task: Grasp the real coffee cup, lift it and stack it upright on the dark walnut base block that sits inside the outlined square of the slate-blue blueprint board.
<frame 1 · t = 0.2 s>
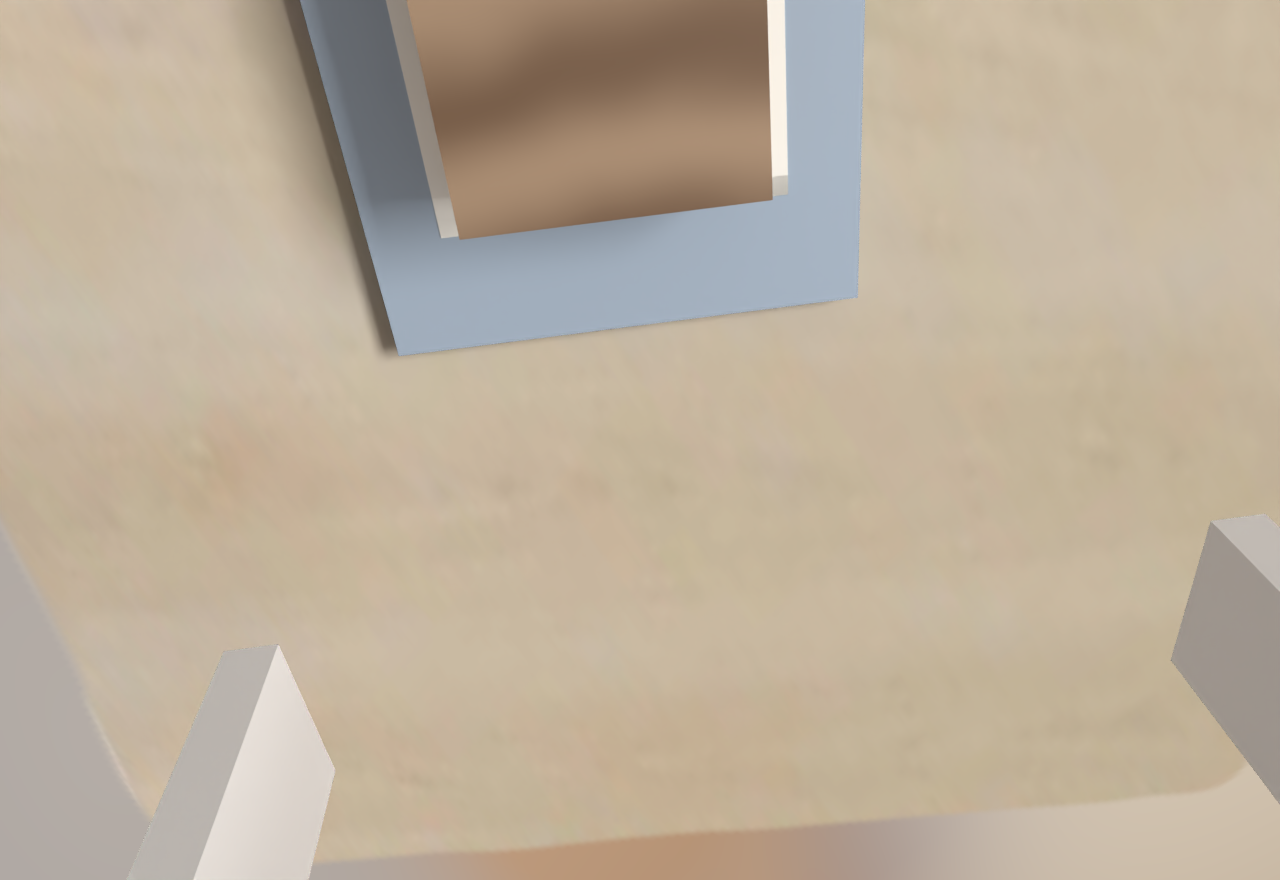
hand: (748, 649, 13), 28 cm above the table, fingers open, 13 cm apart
blueprint board: (590, 23, 34), on the table
walnut base block: (591, 27, 33), point 1 cm above the table, touching blueprint board
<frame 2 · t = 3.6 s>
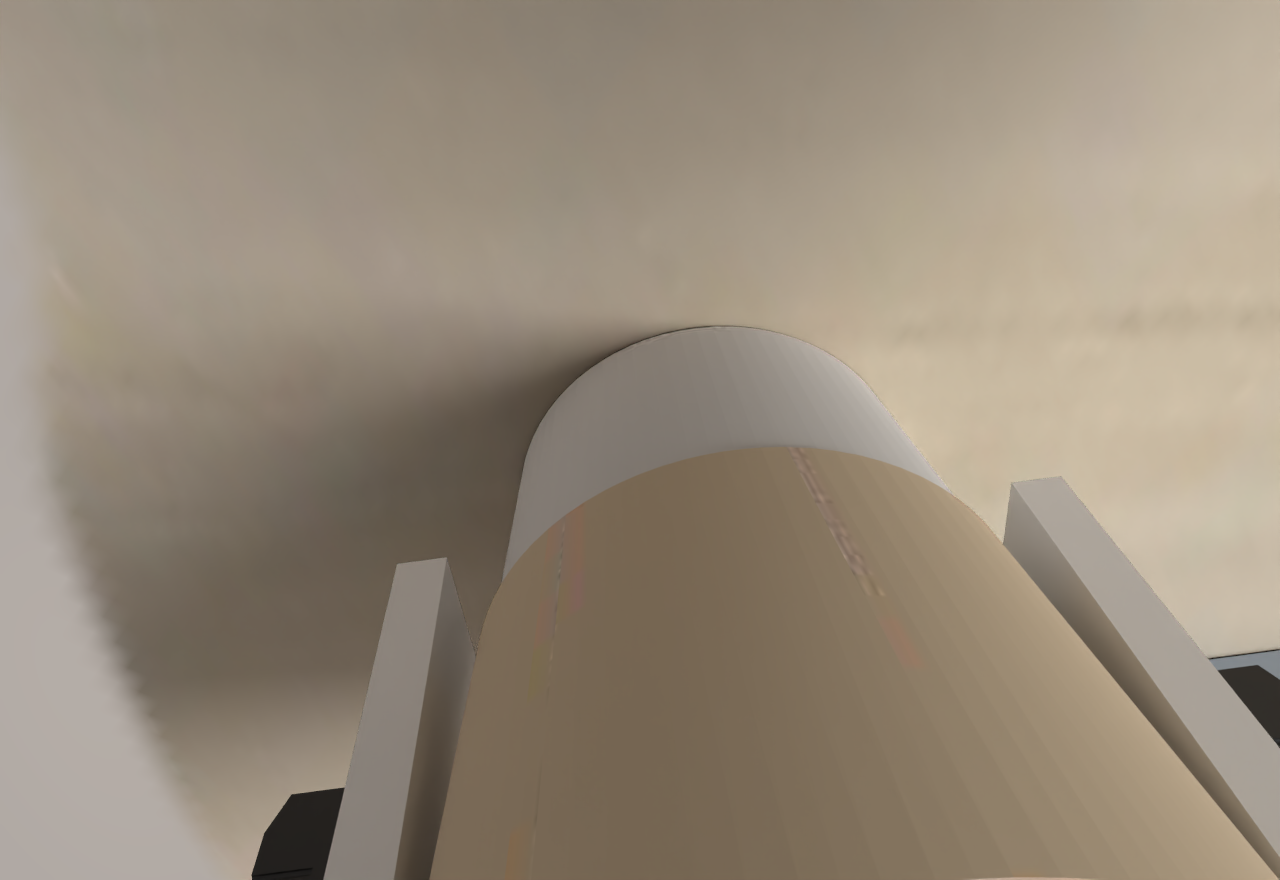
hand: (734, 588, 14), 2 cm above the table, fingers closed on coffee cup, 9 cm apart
coffee cup: (710, 491, 17), on the table, touching gripper
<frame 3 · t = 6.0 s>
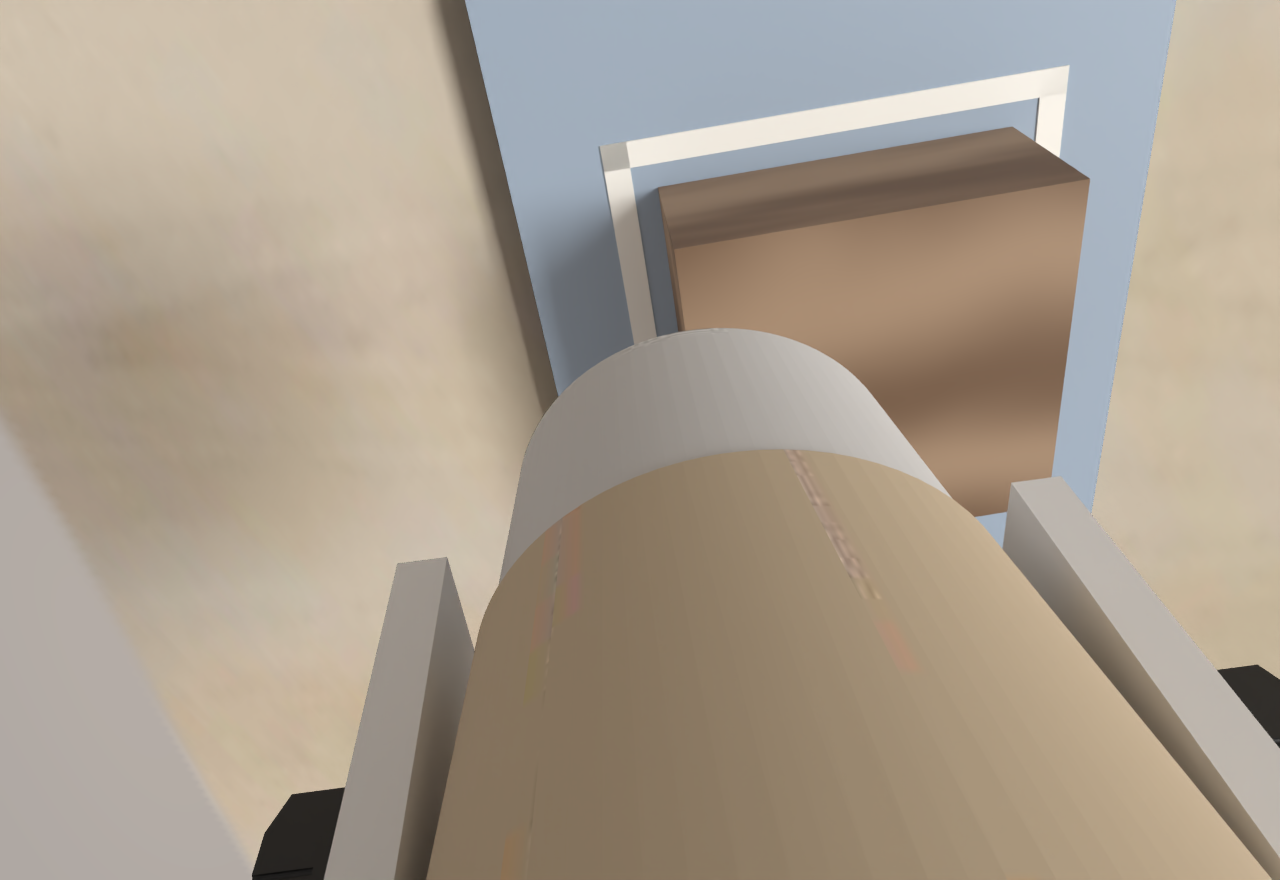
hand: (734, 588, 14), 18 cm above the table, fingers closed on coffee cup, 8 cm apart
blueprint board: (831, 303, 32), on the table
walnut base block: (839, 316, 31), point 1 cm above the table, touching blueprint board
coffee cup: (708, 493, 17), point 16 cm above the table, touching gripper
when the fingers open (10 cm above the table, at t = 8.3 s): coffee cup drops 1 cm, resting on walnut base block.
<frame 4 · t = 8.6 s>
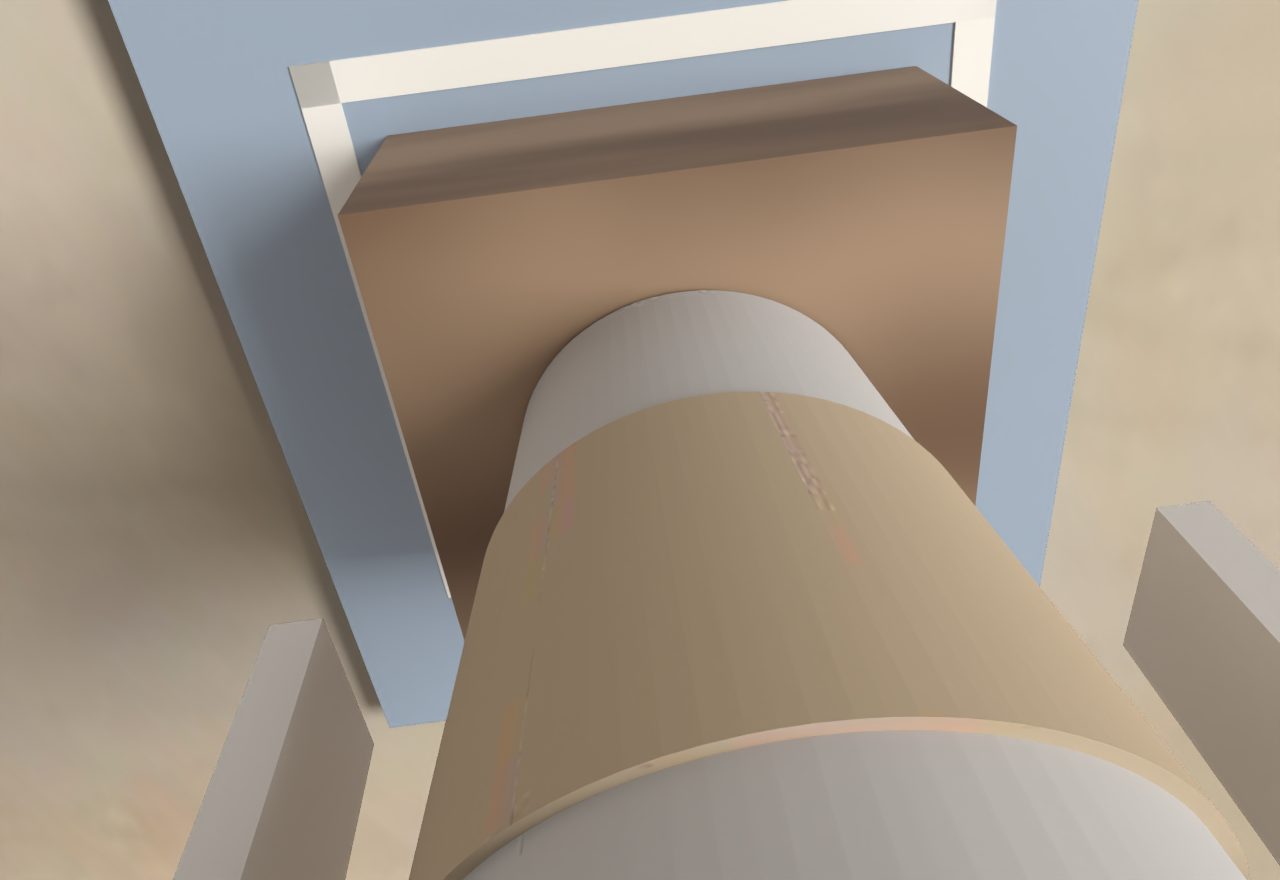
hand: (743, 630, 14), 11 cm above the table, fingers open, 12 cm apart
blueprint board: (671, 321, 23), on the table
walnut base block: (675, 338, 22), point 1 cm above the table, touching blueprint board, coffee cup
coffee cup: (698, 447, 18), point 6 cm above the table, touching walnut base block
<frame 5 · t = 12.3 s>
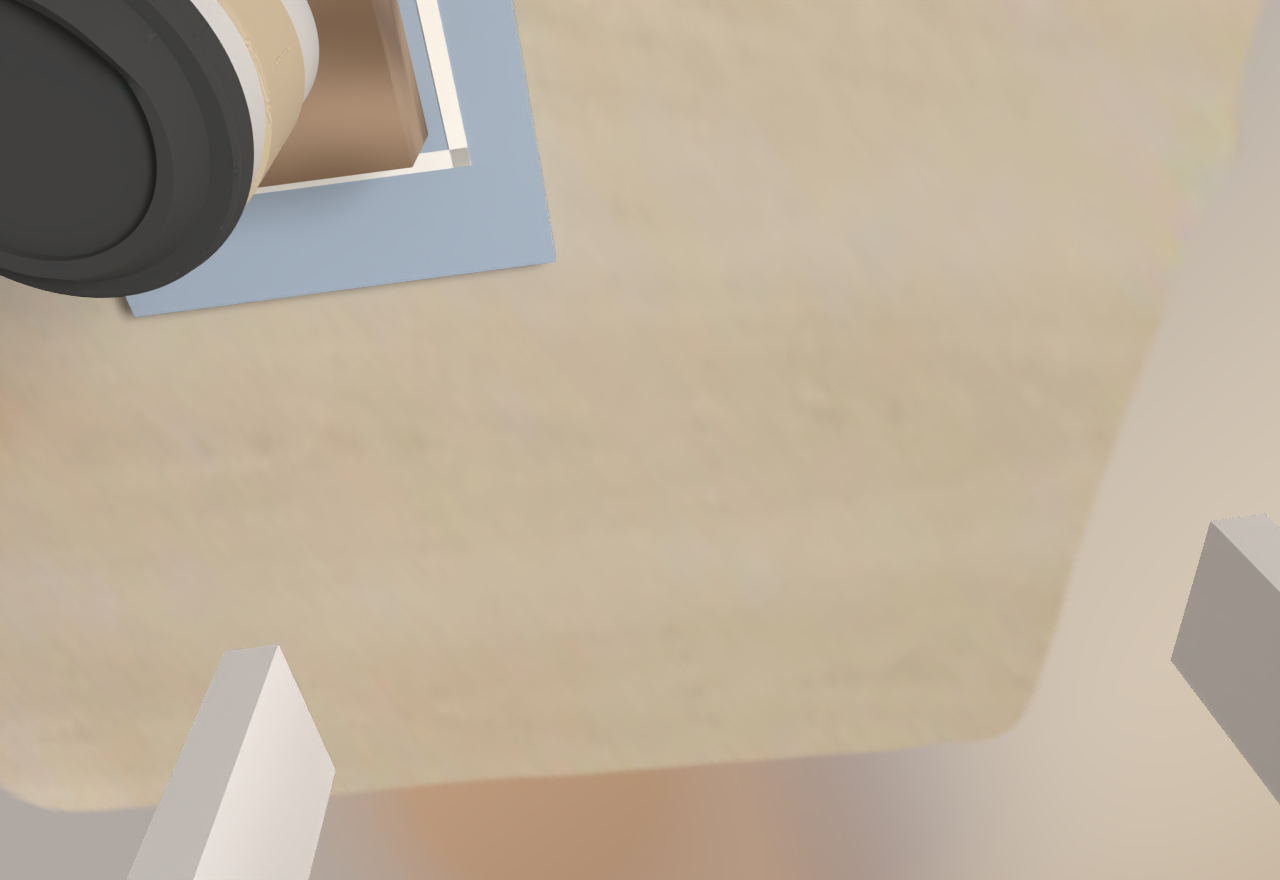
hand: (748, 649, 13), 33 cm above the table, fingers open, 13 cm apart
blueprint board: (266, 9, 38), on the table
walnut base block: (260, 13, 37), point 1 cm above the table, touching blueprint board, coffee cup
coffee cup: (220, 31, 33), point 6 cm above the table, touching walnut base block
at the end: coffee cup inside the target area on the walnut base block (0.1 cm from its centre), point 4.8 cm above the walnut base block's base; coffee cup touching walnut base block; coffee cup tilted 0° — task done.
